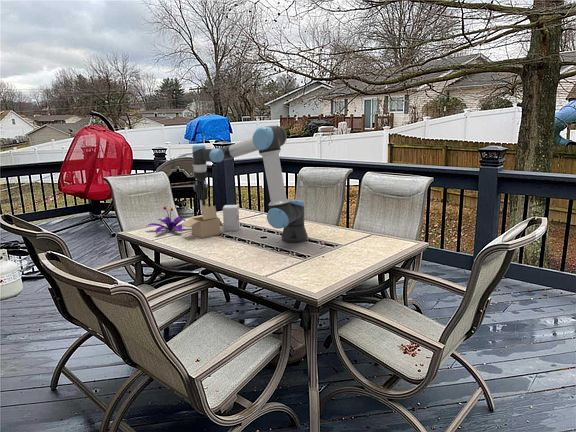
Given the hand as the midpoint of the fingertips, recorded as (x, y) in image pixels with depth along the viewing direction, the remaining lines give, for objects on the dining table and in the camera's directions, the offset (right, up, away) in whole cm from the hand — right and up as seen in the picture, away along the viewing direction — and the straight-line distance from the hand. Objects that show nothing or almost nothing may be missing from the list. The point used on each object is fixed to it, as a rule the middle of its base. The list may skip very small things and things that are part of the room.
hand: (203, 210), depth 255 cm
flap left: (-4, -5, -4) cm, 8 cm away
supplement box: (+16, -12, +13) cm, 24 cm away
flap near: (+5, -5, -5) cm, 9 cm away
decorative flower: (-23, -13, +13) cm, 29 cm away
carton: (+1, -14, +5) cm, 15 cm away
